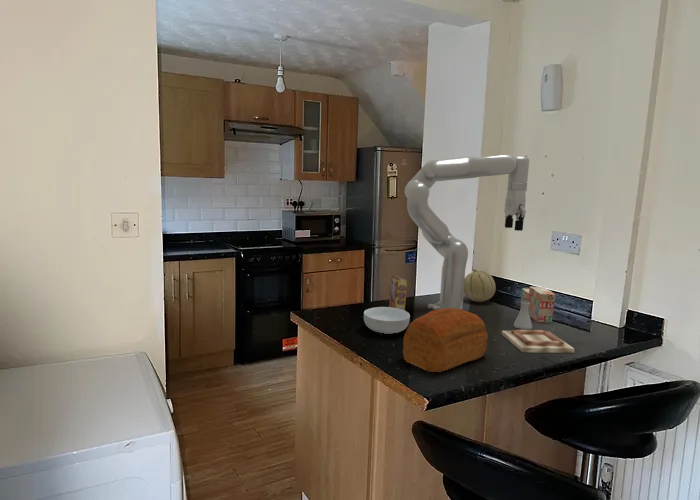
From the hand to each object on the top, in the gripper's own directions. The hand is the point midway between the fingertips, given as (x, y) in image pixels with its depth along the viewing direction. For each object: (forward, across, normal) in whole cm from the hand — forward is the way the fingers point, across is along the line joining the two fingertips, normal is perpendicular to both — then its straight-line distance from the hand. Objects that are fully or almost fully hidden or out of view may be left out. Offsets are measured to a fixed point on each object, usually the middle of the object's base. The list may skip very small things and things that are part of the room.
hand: (513, 229), depth 200 cm
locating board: (+37, +35, -4) cm, 51 cm away
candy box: (+37, 0, -47) cm, 60 cm away
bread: (+37, +49, -41) cm, 74 cm away
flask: (+37, +17, 0) cm, 41 cm away
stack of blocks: (+37, 0, +13) cm, 39 cm away
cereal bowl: (+37, +23, -55) cm, 70 cm away
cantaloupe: (+37, -21, -5) cm, 43 cm away
